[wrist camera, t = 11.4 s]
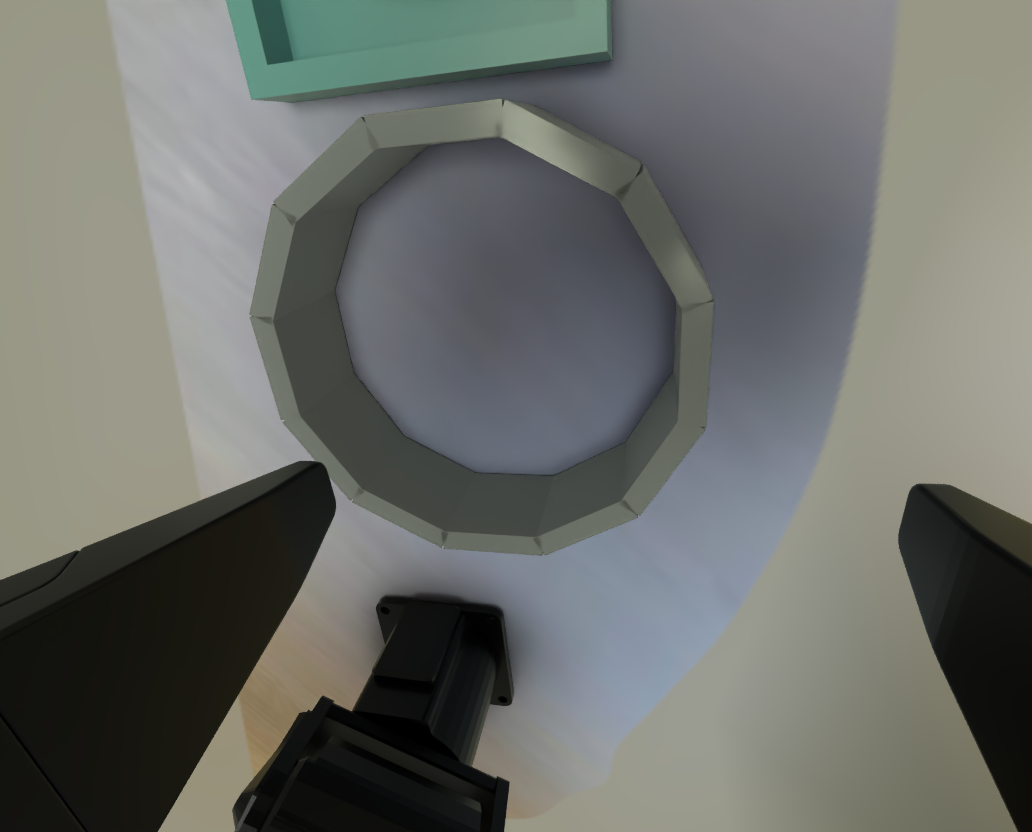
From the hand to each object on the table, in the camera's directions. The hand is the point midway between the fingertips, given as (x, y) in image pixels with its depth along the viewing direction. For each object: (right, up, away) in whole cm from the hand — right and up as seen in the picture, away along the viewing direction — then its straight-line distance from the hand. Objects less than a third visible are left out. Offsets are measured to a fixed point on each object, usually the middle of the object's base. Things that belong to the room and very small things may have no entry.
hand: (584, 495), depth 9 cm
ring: (-2, +4, +12) cm, 13 cm away
